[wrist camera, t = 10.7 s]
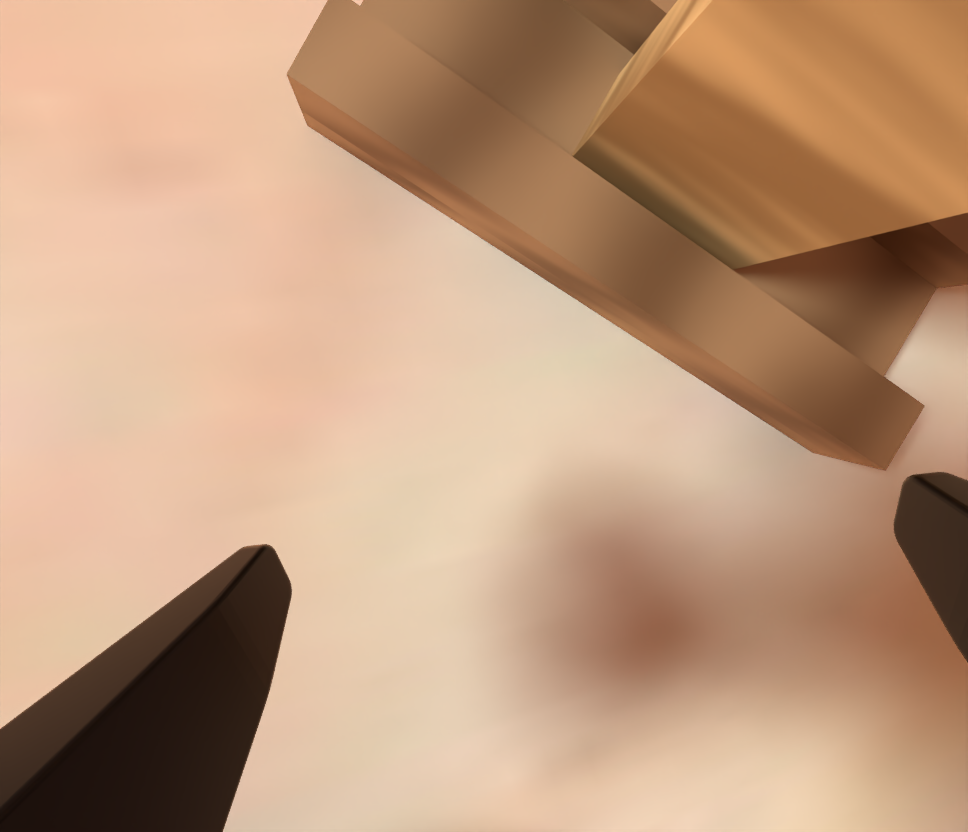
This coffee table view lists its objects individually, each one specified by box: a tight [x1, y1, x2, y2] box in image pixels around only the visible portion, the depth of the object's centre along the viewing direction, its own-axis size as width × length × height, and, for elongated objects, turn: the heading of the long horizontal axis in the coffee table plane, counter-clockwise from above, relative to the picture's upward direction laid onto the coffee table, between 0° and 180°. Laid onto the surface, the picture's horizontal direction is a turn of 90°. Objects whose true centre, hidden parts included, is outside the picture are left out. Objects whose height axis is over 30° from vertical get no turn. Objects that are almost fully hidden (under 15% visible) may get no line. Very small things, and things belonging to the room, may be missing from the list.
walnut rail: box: [287, 0, 968, 470], centre depth 16 cm, size 20×9×3 cm, turn 60°
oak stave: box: [572, 0, 968, 270], centre depth 10 cm, size 3×6×13 cm, turn 59°
